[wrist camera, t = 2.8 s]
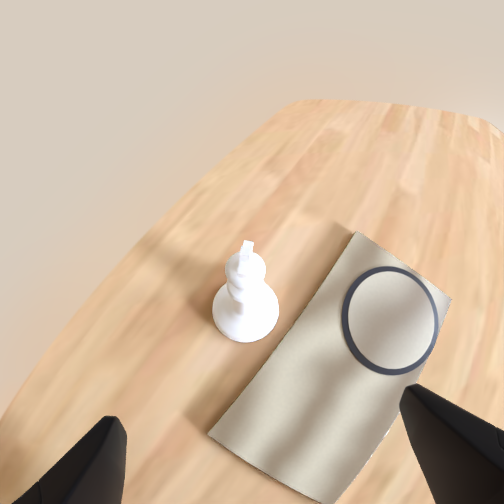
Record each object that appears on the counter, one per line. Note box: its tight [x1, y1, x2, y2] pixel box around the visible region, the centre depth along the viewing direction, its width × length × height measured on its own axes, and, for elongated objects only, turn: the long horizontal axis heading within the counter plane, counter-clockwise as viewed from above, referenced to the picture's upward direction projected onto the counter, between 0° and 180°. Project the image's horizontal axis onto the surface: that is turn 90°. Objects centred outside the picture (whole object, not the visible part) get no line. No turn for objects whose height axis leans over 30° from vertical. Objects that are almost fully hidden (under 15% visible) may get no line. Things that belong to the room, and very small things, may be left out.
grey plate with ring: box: [207, 231, 452, 504], centre depth 20 cm, size 11×20×1 cm, turn 143°
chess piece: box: [212, 240, 279, 342], centre depth 18 cm, size 5×5×10 cm
